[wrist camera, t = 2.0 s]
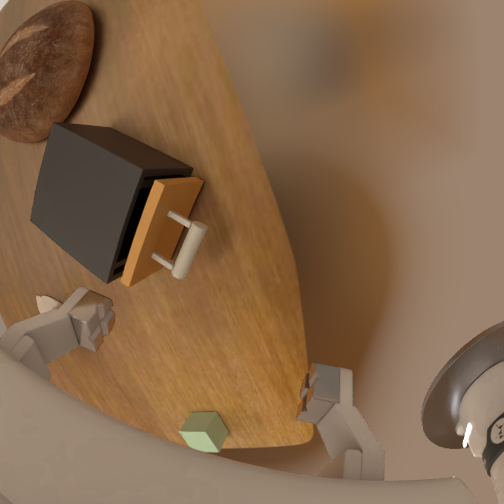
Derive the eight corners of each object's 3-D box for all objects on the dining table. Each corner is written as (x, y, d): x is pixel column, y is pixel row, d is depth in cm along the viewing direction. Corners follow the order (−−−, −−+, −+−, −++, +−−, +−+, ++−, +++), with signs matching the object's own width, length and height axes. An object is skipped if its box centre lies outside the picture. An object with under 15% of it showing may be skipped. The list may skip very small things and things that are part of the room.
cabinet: (193, 168, 35) (143, 169, 25) (157, 257, 39) (106, 284, 29) (109, 127, 36) (53, 122, 26) (84, 208, 40) (30, 220, 30)
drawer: (236, 198, 33) (205, 207, 25) (197, 281, 37) (162, 311, 29) (120, 138, 35) (72, 135, 27) (95, 215, 39) (49, 227, 31)
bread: (22, 38, 36) (-12, 31, 27) (115, -15, 30) (77, -37, 21) (8, 153, 43) (-31, 156, 34) (95, 129, 37) (43, 125, 27)
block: (216, 411, 44) (205, 432, 39) (228, 431, 44) (219, 452, 40) (191, 412, 45) (178, 431, 40) (203, 432, 46) (193, 451, 41)
